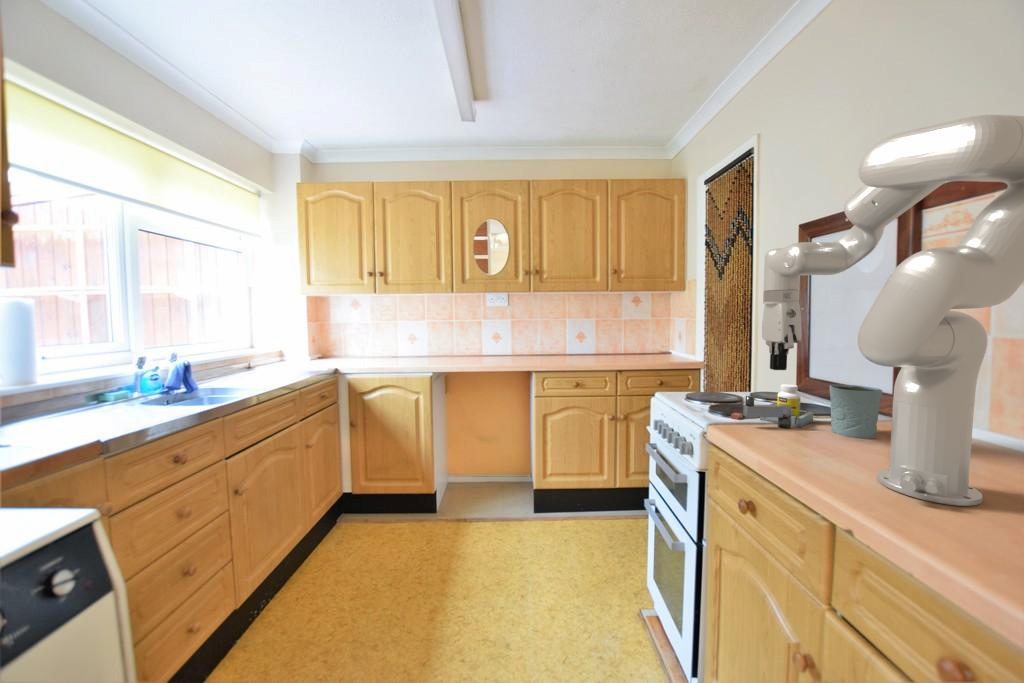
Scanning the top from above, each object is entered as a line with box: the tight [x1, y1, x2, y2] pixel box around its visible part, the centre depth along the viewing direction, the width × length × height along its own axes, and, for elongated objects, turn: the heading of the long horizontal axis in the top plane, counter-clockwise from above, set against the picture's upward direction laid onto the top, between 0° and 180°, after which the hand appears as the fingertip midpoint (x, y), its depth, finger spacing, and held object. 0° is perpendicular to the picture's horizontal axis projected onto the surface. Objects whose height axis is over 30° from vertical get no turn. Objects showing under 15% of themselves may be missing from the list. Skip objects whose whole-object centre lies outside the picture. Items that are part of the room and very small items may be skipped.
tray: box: [759, 409, 814, 428], centre depth 112 cm, size 10×10×2 cm
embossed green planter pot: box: [829, 384, 883, 440], centre depth 99 cm, size 10×10×12 cm
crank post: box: [730, 412, 792, 430], centre depth 110 cm, size 3×15×3 cm, turn 37°
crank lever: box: [742, 395, 792, 418], centre depth 106 cm, size 12×3×6 cm, turn 86°
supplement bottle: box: [776, 383, 801, 421], centre depth 111 cm, size 5×5×10 cm
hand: (778, 369), depth 99 cm, fingers closed
